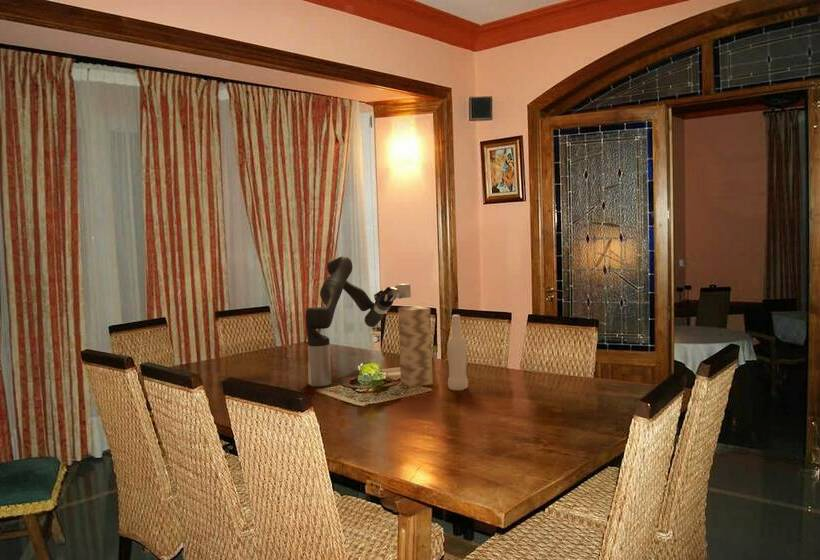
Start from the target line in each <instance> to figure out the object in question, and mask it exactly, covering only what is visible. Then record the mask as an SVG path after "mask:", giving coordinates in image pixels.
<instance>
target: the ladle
mask: <svg viewBox="0 0 820 560" xmlns="http://www.w3.org/2000/svg"><path fill="white" fill-rule="evenodd" d="M396 286H397V288H395V286H390V290H391V291H390V292H389V295H393V296H397V298H396V299H399V298H401V299H405V298H406V299H407V298H411V297H412V295H411V294H412V292H411V291H412V290H411V283H398V284H396ZM386 288H388V286H387V287H386Z"/></svg>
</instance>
